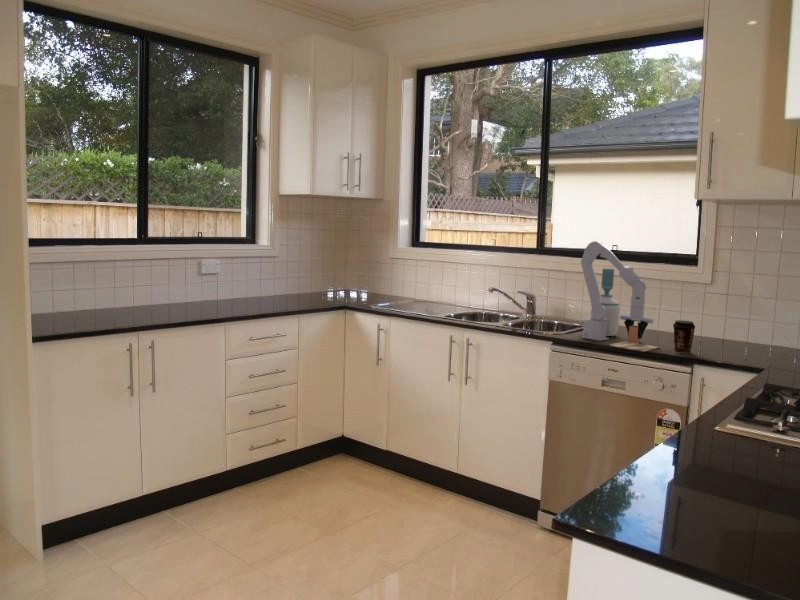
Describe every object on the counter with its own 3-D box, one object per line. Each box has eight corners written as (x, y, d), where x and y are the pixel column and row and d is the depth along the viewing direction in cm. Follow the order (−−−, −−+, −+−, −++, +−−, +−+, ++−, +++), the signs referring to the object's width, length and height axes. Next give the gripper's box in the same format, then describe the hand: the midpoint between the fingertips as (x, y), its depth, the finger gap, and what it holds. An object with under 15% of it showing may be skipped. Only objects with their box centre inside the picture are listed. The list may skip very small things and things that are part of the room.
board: (608, 345, 294) (608, 344, 294) (624, 342, 303) (625, 341, 303) (644, 351, 282) (644, 350, 282) (659, 348, 292) (659, 347, 292)
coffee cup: (673, 349, 290) (675, 319, 288) (694, 352, 286) (696, 321, 284) (669, 352, 282) (672, 321, 281) (691, 355, 278) (693, 323, 277)
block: (628, 342, 304) (629, 325, 303) (632, 341, 307) (633, 324, 306) (636, 343, 301) (637, 326, 301) (641, 342, 304) (642, 326, 303)
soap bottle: (589, 336, 317) (594, 268, 314) (590, 332, 329) (594, 267, 325) (617, 338, 314) (622, 270, 310) (617, 334, 326) (622, 268, 322)
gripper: (657, 308, 300) (654, 339, 302) (626, 304, 310) (624, 334, 312) (649, 309, 295) (647, 340, 297) (618, 305, 305) (616, 335, 307)
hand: (635, 337), depth 304 cm, fingers closed on block, 4 cm apart
